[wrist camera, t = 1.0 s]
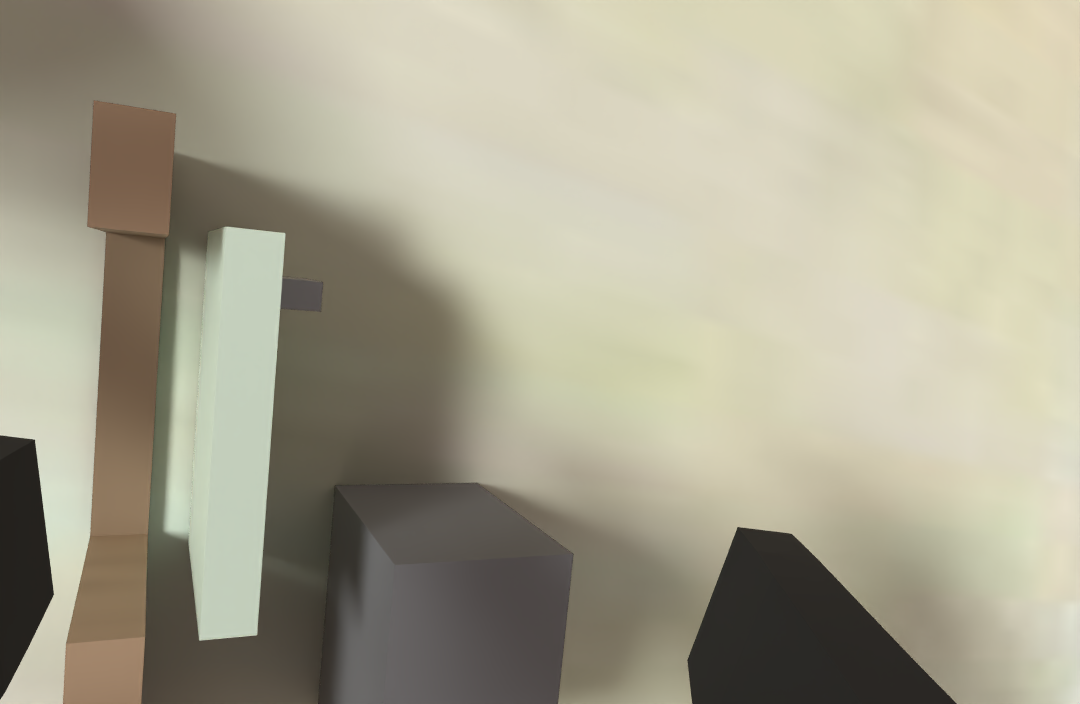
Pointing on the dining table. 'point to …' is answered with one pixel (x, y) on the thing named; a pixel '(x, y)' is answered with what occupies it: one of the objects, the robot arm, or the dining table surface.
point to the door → (237, 422)
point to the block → (441, 599)
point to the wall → (122, 400)
